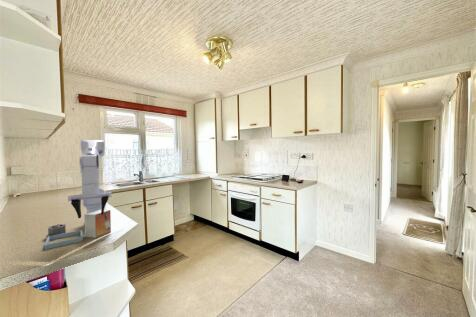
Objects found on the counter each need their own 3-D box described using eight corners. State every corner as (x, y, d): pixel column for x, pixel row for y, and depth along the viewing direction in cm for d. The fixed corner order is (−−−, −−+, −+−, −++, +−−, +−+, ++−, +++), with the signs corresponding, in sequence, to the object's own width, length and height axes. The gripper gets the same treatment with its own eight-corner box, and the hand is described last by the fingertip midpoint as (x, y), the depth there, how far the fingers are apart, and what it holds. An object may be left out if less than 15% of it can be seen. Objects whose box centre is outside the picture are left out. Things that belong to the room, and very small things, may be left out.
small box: (95, 239, 82) (94, 214, 82) (84, 239, 83) (83, 214, 83) (111, 232, 90) (110, 209, 90) (101, 232, 91) (100, 209, 91)
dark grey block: (41, 239, 81) (41, 229, 81) (58, 233, 88) (57, 224, 88) (53, 239, 81) (53, 229, 81) (68, 233, 87) (68, 224, 87)
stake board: (47, 236, 87) (47, 222, 87) (76, 230, 93) (76, 217, 93) (45, 242, 80) (44, 228, 80) (76, 236, 86) (76, 222, 86)
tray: (48, 242, 80) (48, 236, 80) (82, 235, 87) (82, 229, 87) (44, 252, 72) (44, 245, 72) (82, 243, 79) (82, 237, 79)
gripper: (65, 186, 75) (66, 221, 75) (110, 183, 82) (111, 215, 82) (69, 184, 81) (70, 217, 81) (111, 181, 88) (112, 211, 88)
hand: (91, 215), depth 82 cm, fingers open, 7 cm apart
